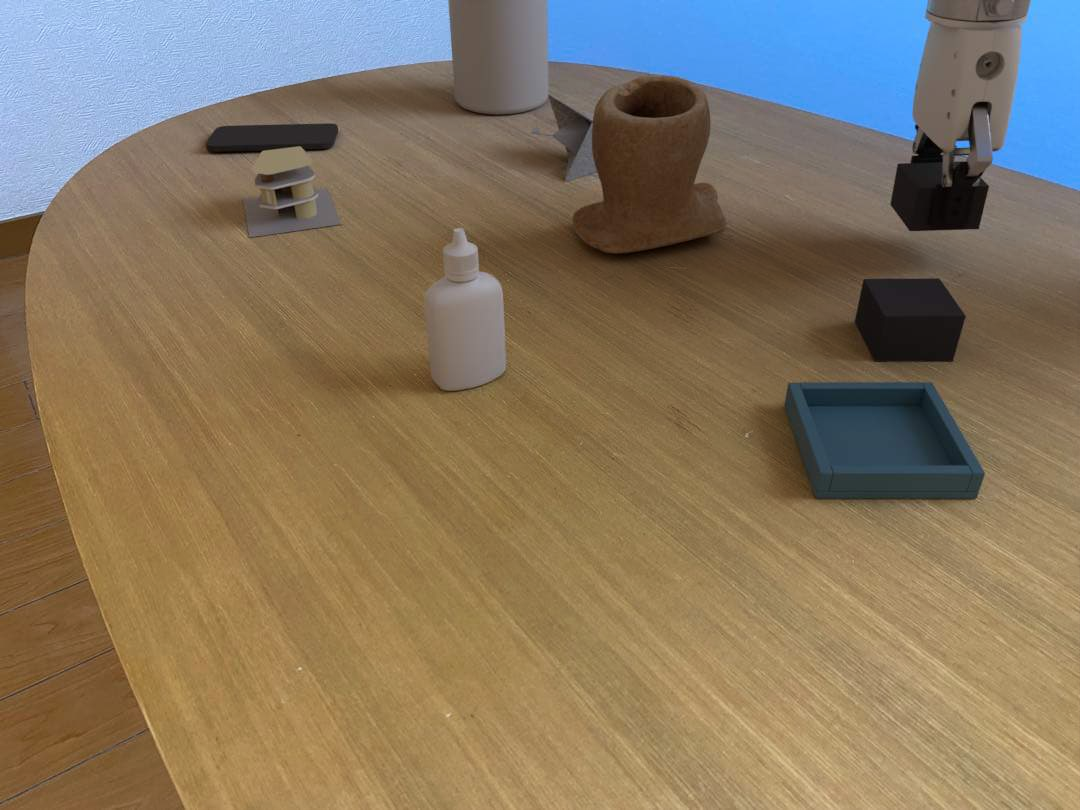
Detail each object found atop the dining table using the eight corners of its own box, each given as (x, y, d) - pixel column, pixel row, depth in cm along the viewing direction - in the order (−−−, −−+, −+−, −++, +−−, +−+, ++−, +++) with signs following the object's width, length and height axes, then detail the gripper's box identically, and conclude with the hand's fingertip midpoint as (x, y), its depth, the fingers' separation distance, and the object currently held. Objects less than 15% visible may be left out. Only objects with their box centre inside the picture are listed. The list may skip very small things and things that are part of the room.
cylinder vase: (567, 99, 126) (567, -112, 112) (501, 123, 119) (492, -100, 104) (502, 82, 133) (494, -119, 119) (436, 103, 126) (419, -109, 111)
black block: (928, 321, 77) (939, 278, 74) (953, 361, 72) (966, 315, 69) (854, 322, 77) (863, 278, 75) (874, 361, 72) (884, 316, 70)
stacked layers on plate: (243, 199, 100) (232, 149, 97) (327, 188, 102) (320, 138, 99) (249, 237, 92) (238, 184, 89) (341, 224, 94) (333, 172, 91)
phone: (331, 143, 111) (203, 146, 110) (332, 150, 111) (204, 153, 111) (338, 122, 117) (217, 125, 116) (339, 129, 117) (218, 132, 117)
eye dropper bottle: (435, 361, 73) (421, 217, 66) (507, 360, 73) (501, 216, 66) (429, 393, 69) (414, 244, 62) (505, 392, 69) (498, 243, 62)
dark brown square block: (955, 202, 87) (964, 161, 85) (979, 229, 82) (989, 185, 80) (890, 204, 88) (897, 163, 85) (909, 231, 83) (918, 188, 80)
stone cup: (605, 278, 84) (610, 111, 75) (560, 226, 93) (559, 71, 84) (755, 252, 88) (776, 90, 79) (698, 204, 97) (711, 54, 88)
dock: (926, 406, 67) (932, 381, 66) (977, 499, 59) (985, 473, 58) (783, 406, 67) (787, 382, 66) (815, 499, 59) (820, 473, 58)
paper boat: (628, 168, 102) (552, 158, 98) (602, 203, 107) (529, 195, 104) (608, 83, 107) (534, 69, 103) (584, 120, 112) (513, 109, 108)
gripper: (1075, 22, 67) (1014, 252, 77) (986, -24, 81) (944, 175, 92) (969, 26, 68) (922, 255, 78) (898, -20, 82) (866, 178, 92)
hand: (934, 210), depth 85 cm, fingers closed on dark brown square block, 6 cm apart
